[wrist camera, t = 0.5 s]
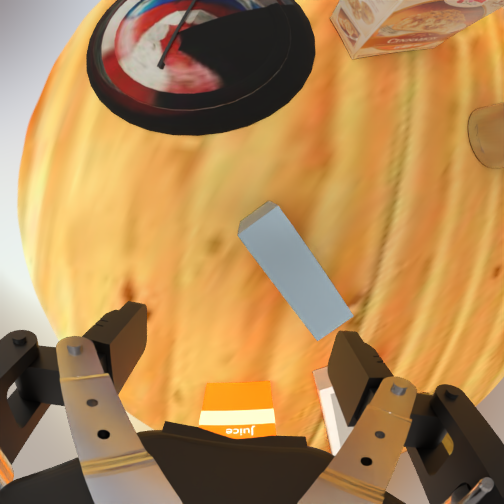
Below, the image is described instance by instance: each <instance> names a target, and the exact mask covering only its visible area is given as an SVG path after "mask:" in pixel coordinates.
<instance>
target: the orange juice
mask: <svg viewBox="0 0 504 504" xmlns="http://www.w3.org/2000/svg"><path fill="white" fill-rule="evenodd" d="M199 427H200V428H202V429H205V430H208V431H211V432H214V433H217V434H220V435H224V436H227V437H230V438H234V439H243V438H254V437H263V436H271V435H273V436H276V429H275V417H274V409H273V403H272V394H271V386H270V381H259V382H239V383H207V386H206V391H205V396H204V401H203V407H202V411H201V415H200V421H199Z"/></svg>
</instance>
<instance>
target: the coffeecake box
mask: <svg viewBox="0 0 504 504" xmlns="http://www.w3.org/2000/svg"><path fill="white" fill-rule="evenodd" d="M503 6H504V0H340V1H339V3H338V5H337V6H336V8H335V10H334V12H333V14H332V16H331V17H330V19H331V21H332V23H333V24H334V26H335V28H336V29H337V31H338V33H339V35H340V37H341V38H342V40H343V42H344V45H345V47H346V49H347V50H348V52H349V54H350V56H351V58H352V59H356V58H362V57H368V56H374V55H380V54H387V53H394V52H402V51H411V50H421V49H432V48H434V47H436V46H437V45H439V44H441V43H442V42H444V41H445V40H447V39H448V38H450V37H451V36H453V35H455V34H456V33H458V32H460V31H461V30H463V29H465V28H466V27H468V26H470V25H471V24H473V23H475V22H476V21H478V20H480V19H482V18H483V17H485V16H487V15H489V14H491V13H492V12H494V11H496V10H498V9H500V8H501V7H503Z"/></svg>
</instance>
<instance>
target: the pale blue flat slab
mask: <svg viewBox="0 0 504 504" xmlns="http://www.w3.org/2000/svg"><path fill="white" fill-rule="evenodd" d="M238 237H239V238H240V239H241V241H242V242H243V243H244V245H245V246H246V248H247V249H248V250H249V252H250V253H251V254H252V256H253V257H254V258H255V260H256V261H257V262H258V264H259V265H260V266H261V268H262V269H263V270H264V272H265V273H266V274H267V276H268V277H269V278H270V280H271V281H272V282H273V283H274V285H275V286H276V287H277V289H278V290H279V291H280V293H281V294H282V295H283V297H284V298H285V299H286V301H287V302H288V303H289V305H290V306H291V307H292V309H293V310H294V311H295V313H296V314H297V315H298V317H299V318H300V319H301V320H302V322H303V323H304V324H305V326H306V327H307V328H308V329H309V331H310V332H311V333H312V335H313V336H314V337H315V339H316V340H317V341H318V340H320V339H321V338H323V337H324V336H326V335H327V334H329V333H330V332H332V331H333V330H335V329H336V328H337V327H339V326H340V325H342V324H343V323H345V322H346V321H347V320H349V319H350V318H352V317H353V314H352V313H351V311H350V310H349V308H348V307H347V305H346V304H345V302H344V300H343V299H342V297H341V296H340V294H339V293H338V291H337V290H336V288H335V287H334V285H333V284H332V282H331V281H330V279H329V278H328V276H327V275H326V273H325V272H324V270H323V269H322V267H321V266H320V264H319V263H318V262H317V260H316V259H315V257H314V256H313V254H312V253H311V251H310V250H309V248H308V247H307V245H306V244H305V243H304V241H303V240H302V238H301V237H300V235H299V234H298V233H297V231H296V230H295V228H294V227H293V226H292V224H291V223H290V221H289V220H288V218H287V217H286V216H285V214H284V213H283V211H282V210H281V209H280V207H279V206H278V205H276V204H275V203H273V202H271V201H268V202H266V203H265V204H264V205H262V206H261V207H259V208H258V209H257V210H255V211H254V212H253V213H251V214H250V215H248V216H247V217H246V218H244V219H243V220H242V221H240V225H239V230H238Z"/></svg>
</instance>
